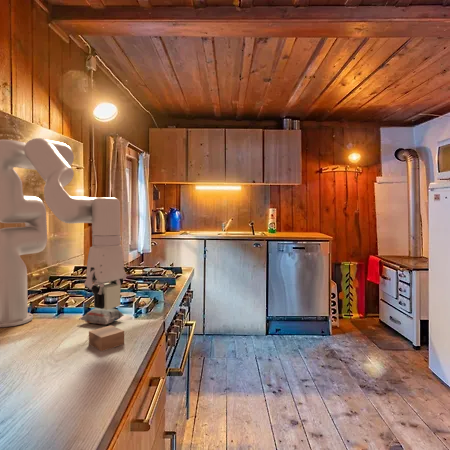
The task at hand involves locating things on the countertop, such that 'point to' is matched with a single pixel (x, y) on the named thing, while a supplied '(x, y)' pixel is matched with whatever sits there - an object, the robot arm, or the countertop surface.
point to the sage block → (111, 295)
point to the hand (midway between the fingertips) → (107, 304)
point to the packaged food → (102, 316)
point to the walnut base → (106, 337)
